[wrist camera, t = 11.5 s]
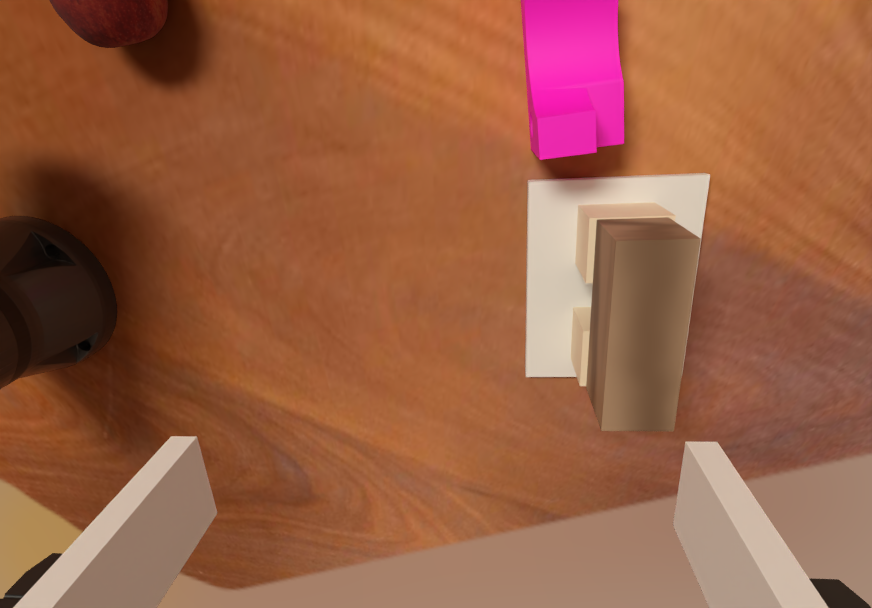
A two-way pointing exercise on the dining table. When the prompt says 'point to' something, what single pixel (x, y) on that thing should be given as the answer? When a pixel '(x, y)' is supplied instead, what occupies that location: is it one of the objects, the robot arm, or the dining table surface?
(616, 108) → the toy block
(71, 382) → the dining table surface
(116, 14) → the apple
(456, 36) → the dining table surface
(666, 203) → the post board
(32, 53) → the dining table surface
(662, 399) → the lintel block
